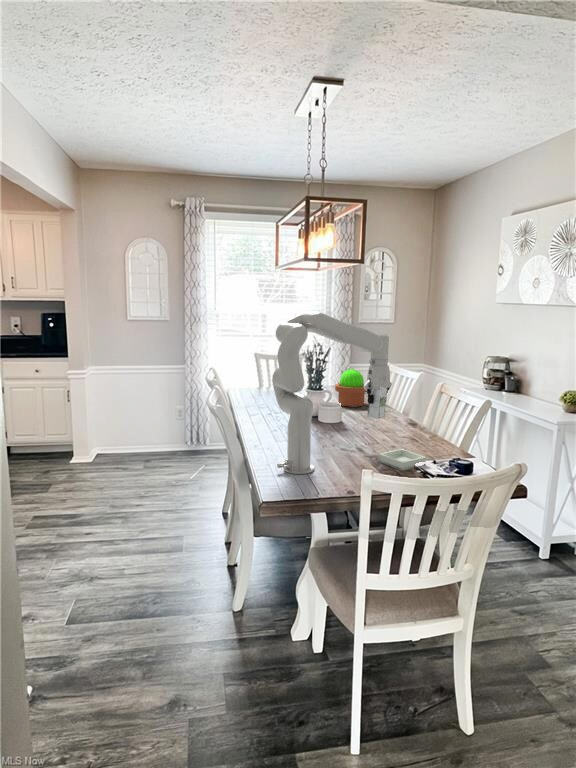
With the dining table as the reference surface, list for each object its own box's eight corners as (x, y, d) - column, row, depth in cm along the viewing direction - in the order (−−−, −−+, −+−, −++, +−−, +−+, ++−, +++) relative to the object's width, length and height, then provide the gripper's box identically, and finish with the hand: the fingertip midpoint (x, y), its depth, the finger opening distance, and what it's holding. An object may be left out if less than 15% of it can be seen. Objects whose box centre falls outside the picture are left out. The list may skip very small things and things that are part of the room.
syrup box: (373, 415, 217) (375, 383, 214) (385, 417, 213) (386, 385, 211) (367, 417, 212) (368, 385, 210) (378, 419, 208) (380, 386, 206)
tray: (402, 470, 196) (402, 462, 195) (378, 461, 207) (378, 453, 207) (425, 464, 203) (426, 457, 202) (401, 456, 215) (401, 448, 214)
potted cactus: (363, 409, 309) (364, 371, 305) (331, 406, 317) (331, 369, 312) (370, 402, 329) (371, 367, 325) (339, 400, 337) (340, 365, 333)
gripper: (369, 364, 201) (367, 405, 204) (399, 362, 210) (397, 402, 213) (358, 362, 207) (356, 402, 210) (387, 360, 216) (385, 399, 219)
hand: (376, 402), depth 211 cm, fingers closed on syrup box, 7 cm apart
